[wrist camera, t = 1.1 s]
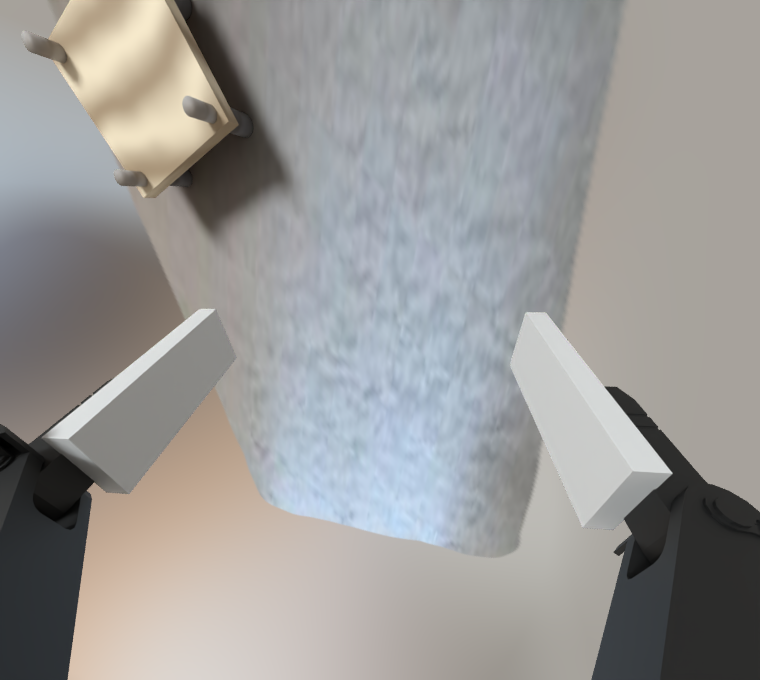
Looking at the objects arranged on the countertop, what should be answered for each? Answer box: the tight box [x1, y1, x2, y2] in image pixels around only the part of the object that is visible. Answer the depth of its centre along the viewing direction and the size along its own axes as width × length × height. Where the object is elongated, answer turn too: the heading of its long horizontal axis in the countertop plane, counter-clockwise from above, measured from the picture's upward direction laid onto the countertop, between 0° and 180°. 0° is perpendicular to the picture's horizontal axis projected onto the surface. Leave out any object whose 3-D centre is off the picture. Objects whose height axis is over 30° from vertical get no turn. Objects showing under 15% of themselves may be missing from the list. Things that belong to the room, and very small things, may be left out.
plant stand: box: [22, 0, 253, 198], centre depth 31 cm, size 16×16×8 cm
